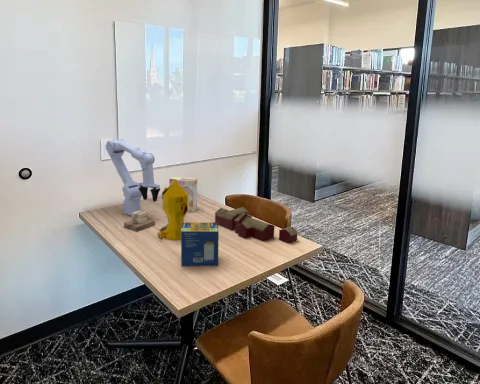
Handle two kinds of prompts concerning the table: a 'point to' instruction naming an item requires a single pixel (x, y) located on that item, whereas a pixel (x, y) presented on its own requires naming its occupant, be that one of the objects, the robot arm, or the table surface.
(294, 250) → the table surface
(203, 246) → the protein box
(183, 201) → the yellow faceted tall shape
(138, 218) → the maple cube
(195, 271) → the table surface
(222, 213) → the toy houses
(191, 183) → the coffeecake box
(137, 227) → the walnut slab
